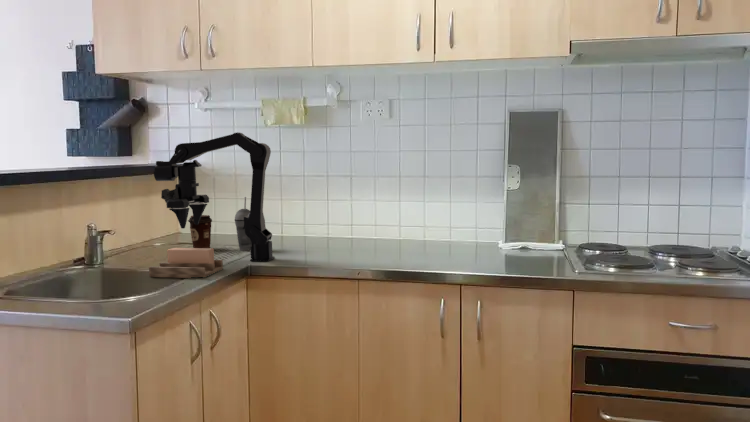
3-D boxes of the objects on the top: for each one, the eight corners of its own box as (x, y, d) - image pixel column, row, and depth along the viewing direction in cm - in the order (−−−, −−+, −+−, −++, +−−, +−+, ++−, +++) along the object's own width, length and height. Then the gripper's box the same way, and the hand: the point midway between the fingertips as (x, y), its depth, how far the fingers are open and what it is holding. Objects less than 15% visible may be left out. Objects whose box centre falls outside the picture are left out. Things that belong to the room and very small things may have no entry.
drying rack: (222, 269, 192) (222, 259, 192) (204, 278, 180) (203, 268, 180) (171, 268, 196) (170, 259, 196) (149, 276, 184) (148, 267, 183)
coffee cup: (192, 252, 224) (190, 217, 223) (187, 249, 231) (185, 215, 230) (216, 249, 229) (214, 215, 227) (209, 246, 236) (208, 213, 234)
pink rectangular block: (214, 267, 191) (213, 248, 190) (209, 269, 188) (208, 250, 187) (174, 266, 194) (173, 247, 193) (168, 268, 190) (167, 249, 190)
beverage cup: (246, 247, 232) (243, 195, 229) (259, 249, 227) (257, 196, 225) (231, 250, 226) (228, 197, 223) (245, 252, 221) (242, 198, 219)
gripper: (179, 179, 214) (182, 222, 216) (150, 182, 196) (153, 230, 198) (208, 178, 212) (210, 222, 214) (181, 182, 194) (184, 230, 196)
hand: (189, 226), depth 206 cm, fingers open, 9 cm apart
